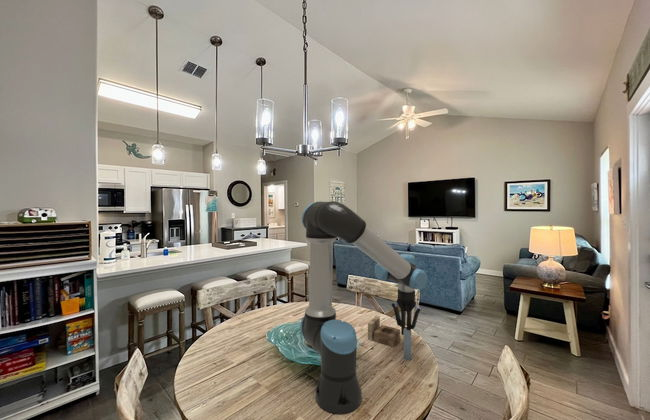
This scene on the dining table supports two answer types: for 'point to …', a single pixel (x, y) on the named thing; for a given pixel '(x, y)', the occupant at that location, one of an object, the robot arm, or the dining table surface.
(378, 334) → the block
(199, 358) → the dining table surface
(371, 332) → the jig
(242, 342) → the dining table surface
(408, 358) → the dowel
